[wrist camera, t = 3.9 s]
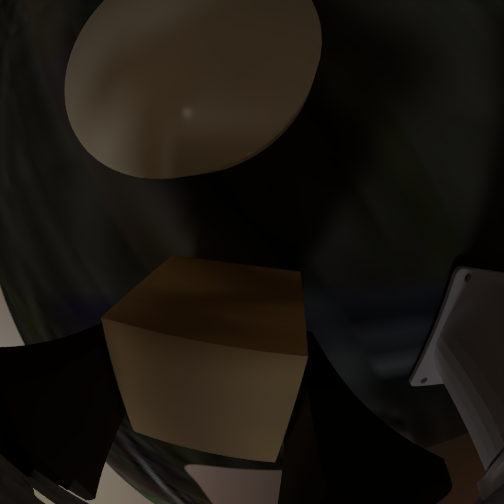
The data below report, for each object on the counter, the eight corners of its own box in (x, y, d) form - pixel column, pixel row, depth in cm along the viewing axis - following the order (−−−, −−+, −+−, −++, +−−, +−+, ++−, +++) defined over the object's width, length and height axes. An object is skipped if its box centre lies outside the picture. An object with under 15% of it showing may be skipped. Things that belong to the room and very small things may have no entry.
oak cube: (300, 271, 10) (308, 356, 6) (281, 371, 12) (274, 462, 7) (172, 255, 11) (100, 317, 6) (177, 353, 12) (133, 430, 8)
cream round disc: (316, -14, 8) (321, -47, 5) (304, 185, 12) (310, 191, 9) (121, 2, 9) (94, -18, 6) (92, 174, 13) (55, 179, 10)
